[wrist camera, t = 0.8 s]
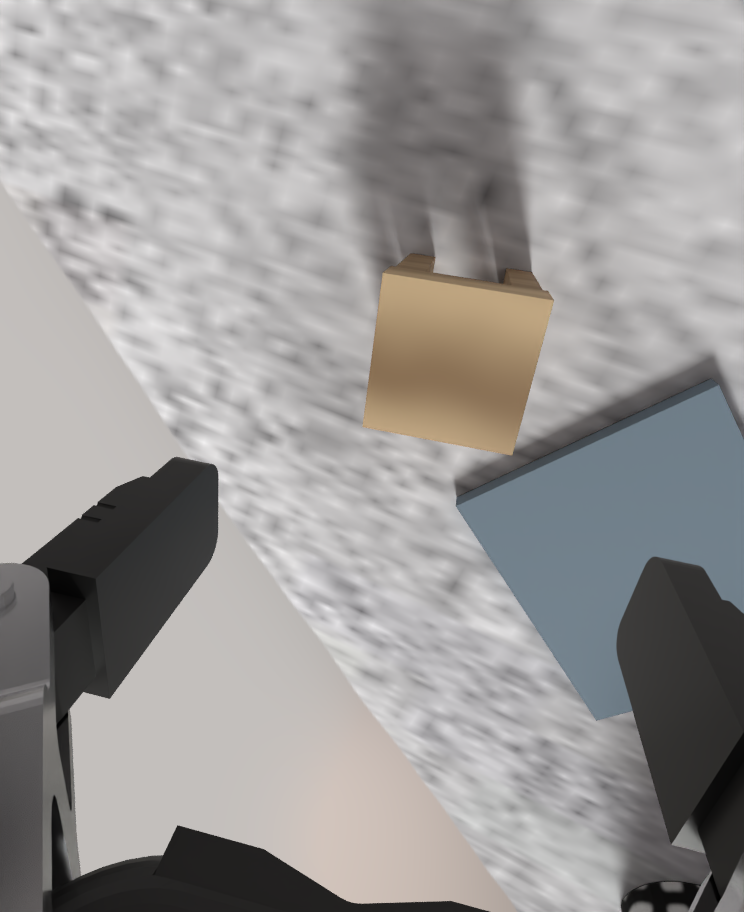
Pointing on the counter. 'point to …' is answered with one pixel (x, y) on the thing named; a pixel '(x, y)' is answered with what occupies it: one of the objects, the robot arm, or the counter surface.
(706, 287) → the counter surface
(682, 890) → the spotted tube
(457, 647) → the counter surface
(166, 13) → the counter surface
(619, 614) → the mat
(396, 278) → the wooden stool
